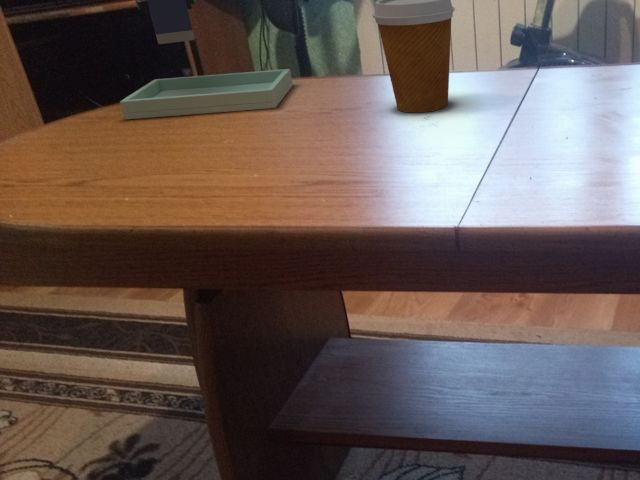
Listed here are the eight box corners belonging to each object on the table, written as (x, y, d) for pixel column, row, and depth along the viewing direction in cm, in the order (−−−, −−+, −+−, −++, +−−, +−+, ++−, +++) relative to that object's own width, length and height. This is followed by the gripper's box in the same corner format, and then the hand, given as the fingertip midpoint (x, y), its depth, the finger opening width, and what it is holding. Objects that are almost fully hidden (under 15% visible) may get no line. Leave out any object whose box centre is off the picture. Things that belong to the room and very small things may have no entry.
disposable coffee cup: (456, 114, 86) (448, 2, 79) (377, 117, 87) (362, 7, 81) (465, 95, 94) (458, -9, 87) (392, 98, 95) (380, -4, 89)
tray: (125, 119, 95) (119, 101, 94) (158, 95, 107) (154, 79, 105) (275, 108, 95) (272, 89, 94) (293, 85, 106) (290, 68, 105)
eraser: (156, 38, 98) (138, -29, 94) (191, 34, 99) (175, -33, 95) (158, 44, 93) (139, -26, 89) (195, 39, 95) (178, -30, 90)
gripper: (196, -84, 102) (227, 20, 98) (86, -75, 97) (114, 34, 94) (189, -132, 95) (222, -21, 91) (69, -124, 90) (99, -8, 87)
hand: (167, 6), depth 93 cm, fingers closed on eraser, 4 cm apart
